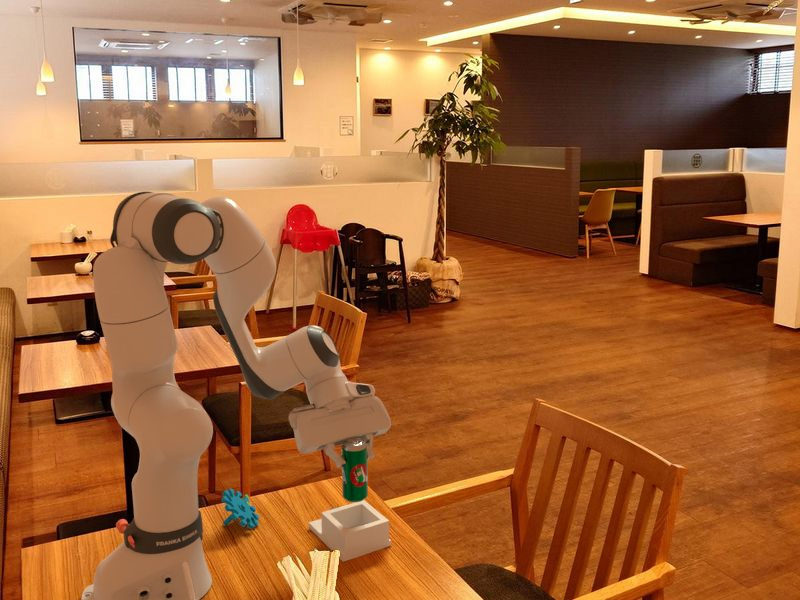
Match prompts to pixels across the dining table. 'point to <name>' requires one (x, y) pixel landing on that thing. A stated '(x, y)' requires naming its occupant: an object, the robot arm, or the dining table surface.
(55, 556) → the dining table surface
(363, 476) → the soda can
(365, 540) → the box
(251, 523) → the teal lobed piece
